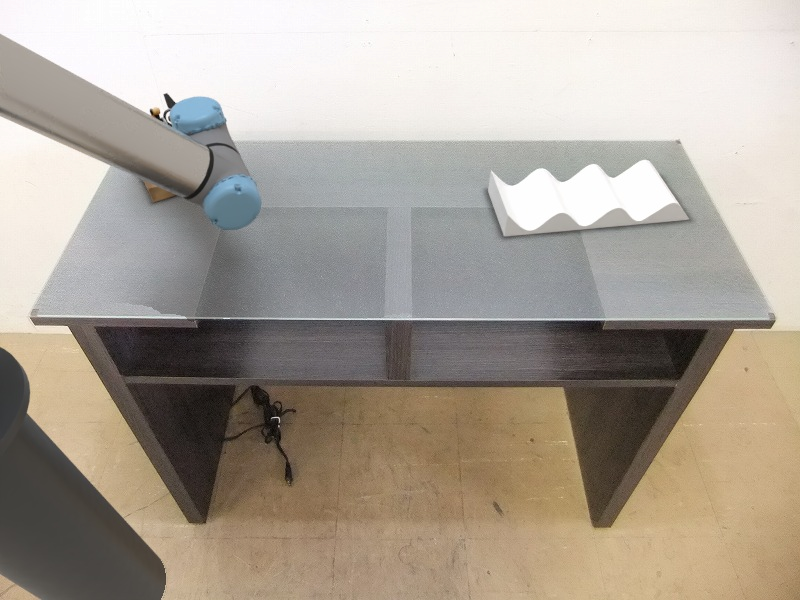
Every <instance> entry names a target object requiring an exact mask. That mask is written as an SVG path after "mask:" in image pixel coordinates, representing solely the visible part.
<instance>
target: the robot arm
mask: <svg viewBox="0 0 800 600" xmlns="http://www.w3.org/2000/svg"><path fill="white" fill-rule="evenodd" d="M162 95H163V98H164V100H165V104H166V106H167V109H171V110H170V111H169V114H168V116H170V121H171V122H170V121H169V122H170V124H172V127H171V126H169V125H167V124H166V123H164V121H163V122H162V121H160V120H158V119H156V118H155V117H153V116H151V114H150V113H147V112H145V111H143V110H141V109H140V108H139V107H136V106H135V105H133V104H131V103H129V102H127V101H125V100H123V99H121V98H120V97H118V96H116V95H114V94H112V93H111V92H109V91H107V90H105V89H103V88H102V87H99V86H98V85H96V84H94V83H92V82H90V81H88V80H86V79H85V78H83V77H81V76H79V75H77V74H75V73H73V72H72V71H70V70H68V69H66V68H64V67H62V66H61V65H60V64H57V63H55V62H53V61H52V60H50V59H48V58H46V57H44V56H42V55H41V54H40V53H39V54H38V53H37V52H35V51H33V50H31V49H29V48H28V47H25V46H24V45H22V44H20V43H18V42H16V41H15V40H13V39H11V38H10V37H7V36H6V35H4V34H1V33H0V117H1V118H3V119H5V120H8V121H10V122H12V123H14V124H17V125H19V126H21V127H23V128H26V129H27V130H30V131H32V132H35V133H37V134H39V135H41V136H44V137H46V138H48V139H51V140H53V141H55V142H57V143H59V144H61V145H64V146H66V147H68V148H70V149H72V150H75V151H77V152H79V153H81V154H84V155H85V156H88V157H91V158H93V159H95V160H97V161H99V162H101V163H104V164H106V165H108V166H111V167H112V168H115V169H117V170H119V171H121V172H124V173H126V174H128V175H131V176H133V177H135V178H137V179H140V180H142V181H143V180H144V181H146V182H148V183H151V184H153V185H155V186H157V187H160V188H162V189H164V190H166V191H169V192H171V193H173V194H175V196H178V197H179V198H182V199H184V200H186V201H188V202H190V203H192V204H194V205H196V206H199V207H200V209H201V210H202V211H203V214H204V215H205V217H207V219H208V220H209V222H210V223H211V224H212V225H214V226H215V227H216V228H218V229H221V230H223V231H236V230H241V229H243V228H245V227H247V226H249V225H250V224H251V223H253V222H254V221H255V220H256V219H257V217H258V215H259V214H260V212H261V209H262V197H261V195H260V192H259V190H258V185H257V182H256V180H255V179H254V177H252V175H251V173H250V171H249V169H248V168H247V165H246V163H245V161H244V160H243V158H242V156H241V154H240V152H239V150H238V148H237V146H236V144H235V142H234V140H233V139H232V137H231V134H230V131H229V129H228V124H227V118H226V117H225V114H224V111H223V108H222V106H221V104H220V102H218V100H216V99H215V98H212V97H209V96H201V95H200V96H198V95H197V96H192V97H187V98H183V99H182V100H179V101H178V102H175V100H174V99H173V98H172V97H171V96H170V94H169V93H168V92H166V93H163V94H162Z"/></svg>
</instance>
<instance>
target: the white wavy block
mask: <svg viewBox="0 0 800 600" xmlns="http://www.w3.org/2000/svg"><path fill="white" fill-rule="evenodd" d="M487 193H488V195H489V198H490V201H491V203H492V208H493V209H494V213H495V216H496V218H497V221H498V223H499V227H500V230H501V232H502V235H503V237H514V236H515V237H516V236H525V235H527V236H528V235H537V234H548V233H558V232H569V231H570V232H571V231H581V230H592V229H603V228H614V227H615V228H616V227H624V226H625V227H627V226H635V225H647V224H657V223H659V224H660V223H668V222H681V221H689V220H690V218H689V217H688V215H687V213H686V212H685V209H683V207H682V205H680V203H679V201H678V200H677V199H676V197H675V196H674V194H673V193H672V191H671V189H670V188H669V187H668V185H667V184H666V182H665V181H664V179H663V178H662V176H661V175H660V173H659V172H658V170H657V169H656V167H655V165H654V164H653V163H652V162H651V161H649V160H648V159H642V160H639V161H637V162H636V163H635V164H633V165H631V166H630V167H629V168H627V169H626V170H624V171H623V172H621V173H619V174H618V175H616V176H614V177H611V176H610V175H608V174H607V173H606V172H605V171H604V170H603V169H602V167H601V166H600V165H598V164H596V163H591V164H588V165H586V166H585V167H583V168H582V169H581V170H580V171H578V172H577V173H576V174H575V175H573V176H572V177H571V178H570V179H568V180H565V181H560V180H558V179H557V178H556V177H555V176H553V175H552V174H551V172H550V171H549V170H547V169H546V168H542V167H541V168H537V169H535V170H534V171H532V172H531V173H529V174H528V175H527V176H526V177H525V178H524V179H522V180H521V181H520V182H518V183H516V184H514V185H509V184H507V183H506V182H505V181H503V180H502V179H501V178H500V177H499V176H497V174H496V173H495V172H494V171H493V170H492V169H490V173H489V180H488V188H487Z"/></svg>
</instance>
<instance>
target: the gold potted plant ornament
mask: <svg viewBox="0 0 800 600" xmlns="http://www.w3.org/2000/svg"><path fill="white" fill-rule="evenodd" d="M170 110H171V109H169V108H167V109H165V110H164V112H163V113H162V114H163V115H162V117H161V116H160V114H161V109H160V108H159V107H157V106H156V107H153V108H149V114H150V115H151V116H153V117H155V118H156V119H158V120H160V121H162V122H164V123H166V124H167V125H169V126H171V127H172V124H171V121H170V116H169V115H168V117H167V114H168V113H170Z"/></svg>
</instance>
